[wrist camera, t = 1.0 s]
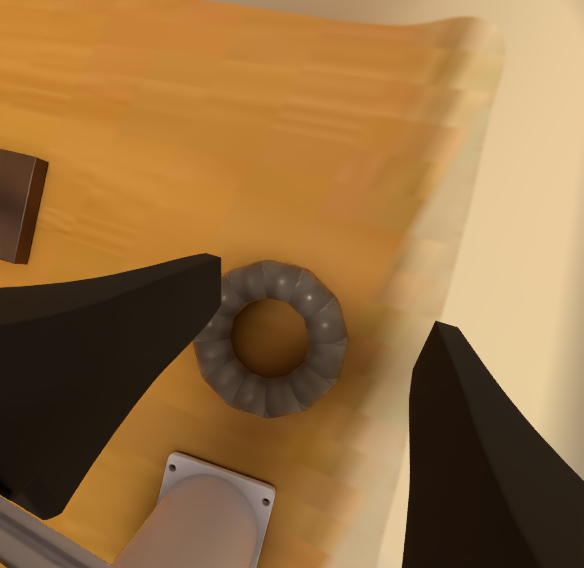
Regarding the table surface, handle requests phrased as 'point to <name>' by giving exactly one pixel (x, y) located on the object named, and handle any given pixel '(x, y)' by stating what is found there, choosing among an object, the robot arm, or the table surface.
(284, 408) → the grey segmented ring
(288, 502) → the table surface
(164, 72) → the table surface
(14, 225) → the rack
